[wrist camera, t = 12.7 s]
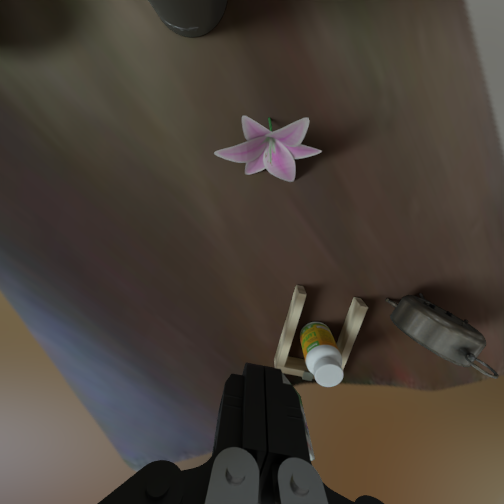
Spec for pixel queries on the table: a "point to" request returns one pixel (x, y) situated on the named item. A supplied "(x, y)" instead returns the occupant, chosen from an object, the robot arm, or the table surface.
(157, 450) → the table surface
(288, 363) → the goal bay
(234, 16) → the table surface
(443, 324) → the alarm clock
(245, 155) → the lily
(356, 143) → the table surface
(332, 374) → the supplement bottle
